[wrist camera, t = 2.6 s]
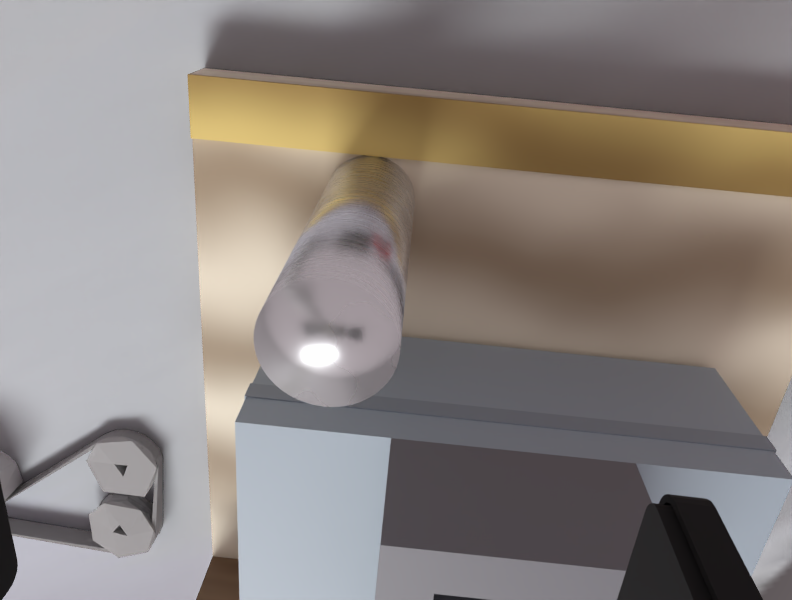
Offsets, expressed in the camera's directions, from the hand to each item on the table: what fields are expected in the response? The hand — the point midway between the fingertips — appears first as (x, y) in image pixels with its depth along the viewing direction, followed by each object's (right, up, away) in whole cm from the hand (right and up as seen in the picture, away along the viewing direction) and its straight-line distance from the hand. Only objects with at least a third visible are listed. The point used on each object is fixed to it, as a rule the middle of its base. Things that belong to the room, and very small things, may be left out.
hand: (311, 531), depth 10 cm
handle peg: (0, +7, +13) cm, 15 cm away
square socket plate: (+4, -4, +17) cm, 18 cm away
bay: (+5, 0, +18) cm, 18 cm away
